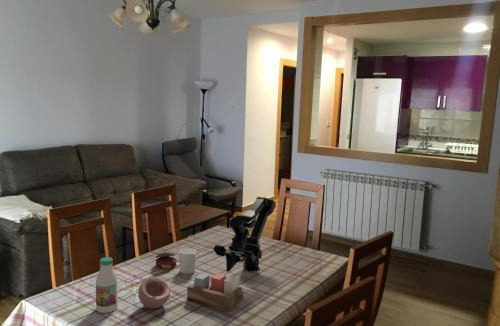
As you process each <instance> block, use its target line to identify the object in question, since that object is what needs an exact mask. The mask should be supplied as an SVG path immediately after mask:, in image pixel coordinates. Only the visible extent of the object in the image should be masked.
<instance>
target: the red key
mask: <svg viewBox="0 0 500 326" xmlns="http://www.w3.org/2000/svg"><path fill="white" fill-rule="evenodd" d="M226 277H227V276H226V274H223V273H220V272H219V273H218V272H217V273H216V274H214V275H213V276H211V279H210V282H211V283H210V285H211V290H213V291H217V292H220V291H221V290H222V289H223V288H224V281H225V280H226V279H227V278H226Z"/></svg>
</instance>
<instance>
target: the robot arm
mask: <svg viewBox="0 0 500 326" xmlns="http://www.w3.org/2000/svg"><path fill="white" fill-rule="evenodd" d="M276 206H277V203H276V202H275V200H274V199H270V198H268V197H265V196H259V195H258V196H257V197H256V199H255V201H254V202H253V204H252V205H251V206H250V208H249V209H248V210H246V211H243V212H242V213H241V214H240V215H238V214H237V215H236V216H234V217H232V218H231V219H230V220H229V223H228V224H229V227H230V228H231V230H232V232H233V234H234V236H232V237H231V243H230V245H228V248H225V246H224V245H221V244H215V245H214V246H213V251H214V253H215V254H216V255H217V256H218V257H225V260H226V262H225V263H226V266H225V267H226V272H230V271H232V269H233V268H234V267H235V266H236V265H237V264H238V263H243V265H242V268H244V269H245V270H246V271H247V272H255V271H259V270H261V267H259V266H260V265H259V262H260V259H262V256H263V251H262V249H261V244H260V239H261V236H262V235H263V234H262V233H263V231H264V227H265V226H266V223H267V220H268V218H269V216H270V215H272V214H273V212H274V210H275V209H276ZM249 229H252V230H251V232H250V231H249Z"/></svg>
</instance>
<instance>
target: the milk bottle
mask: <svg viewBox="0 0 500 326" xmlns="http://www.w3.org/2000/svg"><path fill="white" fill-rule="evenodd" d="M113 259H114V258H112V257H111V256H109V257H108V256H107V257H106V256H105V257H102V258H100V259H99V266H100V267H99V271H98V274H97V276H96V278H95V307H96V308H95V309H96V311H97V313H100V314H109V312H110V313H112V311H113V312H114V311H116V310H117V309H116V308H118V276H117V273H116V272H115V270H114V266H113V261H114V260H113Z"/></svg>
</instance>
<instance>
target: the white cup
mask: <svg viewBox="0 0 500 326" xmlns="http://www.w3.org/2000/svg"><path fill="white" fill-rule="evenodd" d="M196 262H197V250H196V249H195V248H191V247H188V248H187V247H186V248H185V247H184V248H182V249H180V250H179V267H180V273H182V274H185V275H191V274H193V273H194V272H195V271H196V264H197V263H196Z"/></svg>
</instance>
